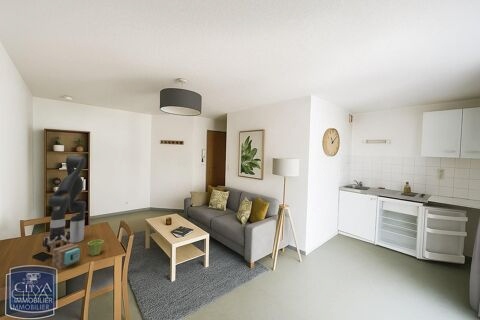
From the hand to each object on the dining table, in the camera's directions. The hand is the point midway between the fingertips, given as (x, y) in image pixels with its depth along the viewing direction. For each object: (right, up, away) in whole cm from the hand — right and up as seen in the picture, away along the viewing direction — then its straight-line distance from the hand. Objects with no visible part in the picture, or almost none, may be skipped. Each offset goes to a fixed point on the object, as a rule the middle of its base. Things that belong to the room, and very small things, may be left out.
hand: (56, 249), depth 132 cm
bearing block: (+9, -8, -3) cm, 13 cm away
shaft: (+8, -2, -3) cm, 9 cm away
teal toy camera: (+15, -5, -5) cm, 17 cm away
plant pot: (+17, -9, +12) cm, 23 cm away
